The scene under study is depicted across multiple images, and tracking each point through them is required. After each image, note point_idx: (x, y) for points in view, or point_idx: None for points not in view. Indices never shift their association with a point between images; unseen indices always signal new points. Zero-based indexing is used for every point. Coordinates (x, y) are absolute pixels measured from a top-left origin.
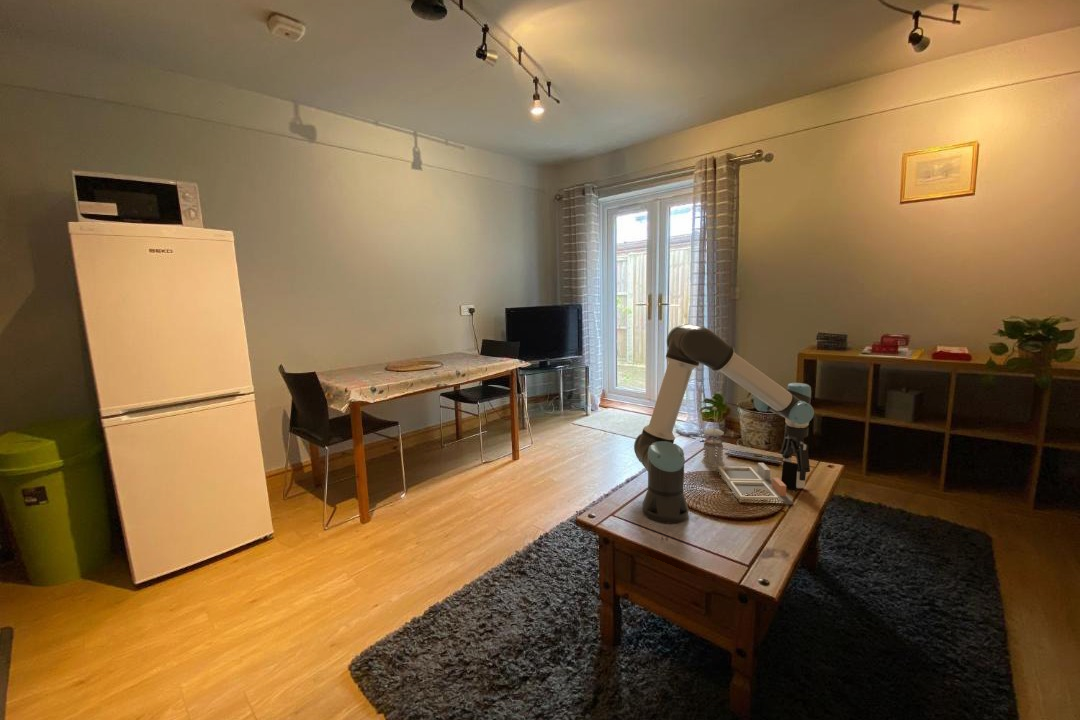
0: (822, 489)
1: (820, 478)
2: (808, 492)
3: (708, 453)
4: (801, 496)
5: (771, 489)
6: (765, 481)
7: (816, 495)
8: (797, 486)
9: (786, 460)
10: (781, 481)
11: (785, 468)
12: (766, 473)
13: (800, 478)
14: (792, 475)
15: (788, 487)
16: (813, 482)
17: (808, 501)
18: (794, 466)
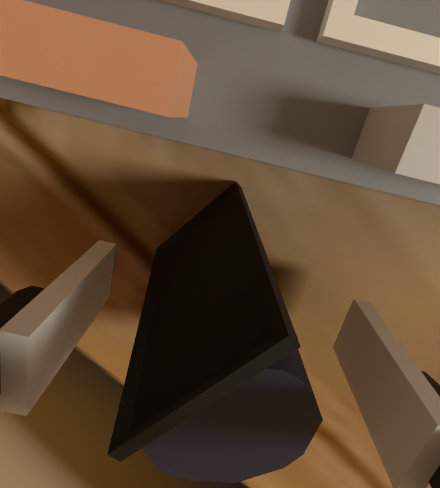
0: None
1: (298, 479)
2: (139, 313)
3: None
4: (85, 234)
5: (160, 32)
6: (328, 90)
7: (95, 328)
8: (94, 248)
9: (411, 429)
10: (54, 81)
11: (238, 287)
12: (390, 128)
13: (29, 296)
14: (178, 296)
15: (197, 224)
16: None
17: (12, 228)
18: (161, 385)
